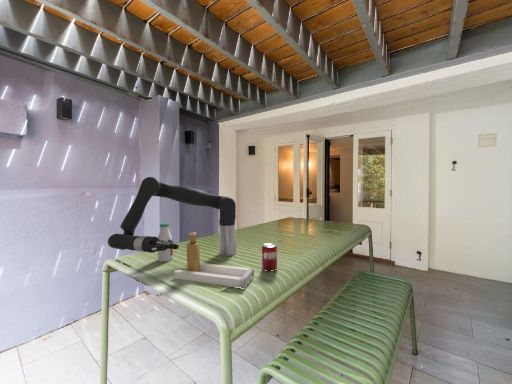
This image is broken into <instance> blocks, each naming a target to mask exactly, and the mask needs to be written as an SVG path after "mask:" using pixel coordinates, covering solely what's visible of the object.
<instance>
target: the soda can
mask: <svg viewBox="0 0 512 384" xmlns="http://www.w3.org/2000/svg"><path fill="white" fill-rule="evenodd" d="M275 269H277V270H278V245H277V244H276V243H272V242H271V243H269V242H268V243H263V244H262V245H261V270H262V271H264V270H267V271H271V270H275Z"/></svg>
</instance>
